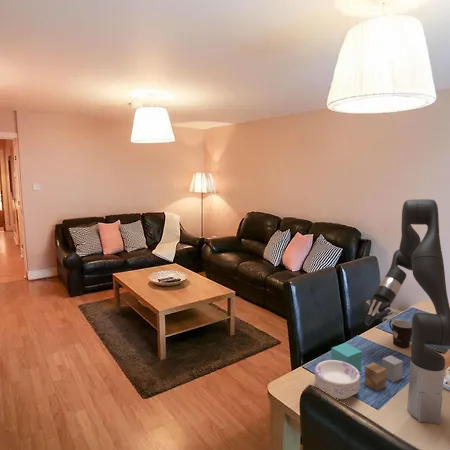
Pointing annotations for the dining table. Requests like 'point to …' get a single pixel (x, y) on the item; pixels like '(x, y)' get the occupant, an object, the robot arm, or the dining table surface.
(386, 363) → the slate-grey block
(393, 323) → the coffee mug
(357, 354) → the teal block
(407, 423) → the dining table surface
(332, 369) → the paper bowls
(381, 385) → the walnut block
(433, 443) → the dining table surface
